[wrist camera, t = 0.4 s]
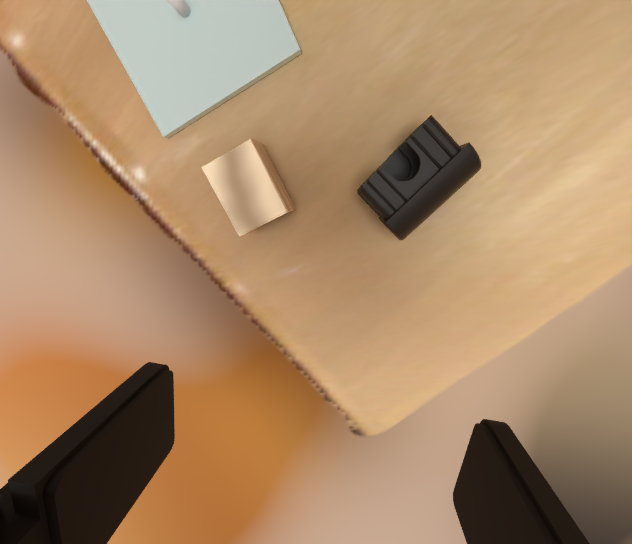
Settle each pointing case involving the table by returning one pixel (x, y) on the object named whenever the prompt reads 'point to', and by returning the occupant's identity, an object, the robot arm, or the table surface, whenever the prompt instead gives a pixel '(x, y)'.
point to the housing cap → (248, 186)
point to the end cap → (419, 178)
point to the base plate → (195, 51)
